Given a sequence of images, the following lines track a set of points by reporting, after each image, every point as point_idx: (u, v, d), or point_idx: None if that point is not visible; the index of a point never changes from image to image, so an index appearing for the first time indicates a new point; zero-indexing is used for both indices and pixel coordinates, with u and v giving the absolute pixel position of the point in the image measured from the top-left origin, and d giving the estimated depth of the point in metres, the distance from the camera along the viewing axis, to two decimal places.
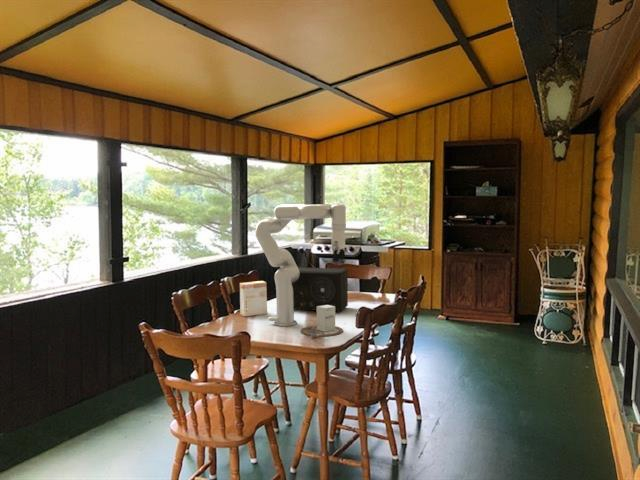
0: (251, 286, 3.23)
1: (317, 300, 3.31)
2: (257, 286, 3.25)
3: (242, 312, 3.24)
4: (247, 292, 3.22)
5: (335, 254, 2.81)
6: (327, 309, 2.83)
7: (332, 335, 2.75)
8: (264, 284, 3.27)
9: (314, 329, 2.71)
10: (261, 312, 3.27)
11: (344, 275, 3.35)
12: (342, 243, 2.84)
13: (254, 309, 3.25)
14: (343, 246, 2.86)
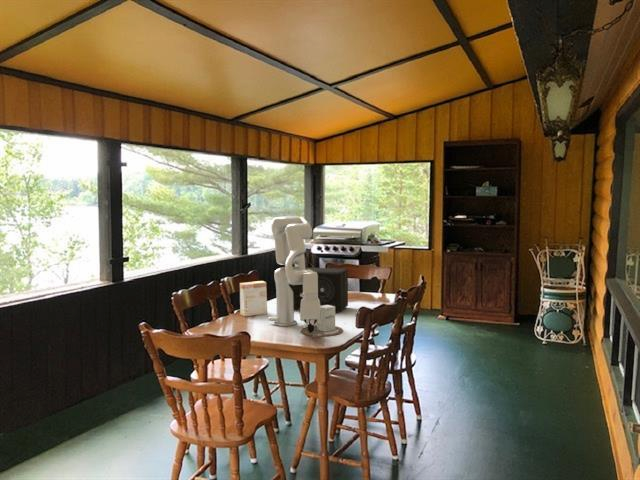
0: (251, 286, 3.23)
1: None
2: (257, 286, 3.25)
3: (242, 312, 3.24)
4: (247, 292, 3.22)
5: (313, 325, 2.72)
6: (327, 309, 2.83)
7: None
8: (264, 284, 3.27)
9: (316, 329, 2.71)
10: (261, 312, 3.27)
11: (344, 275, 3.35)
12: None
13: (254, 309, 3.25)
14: None
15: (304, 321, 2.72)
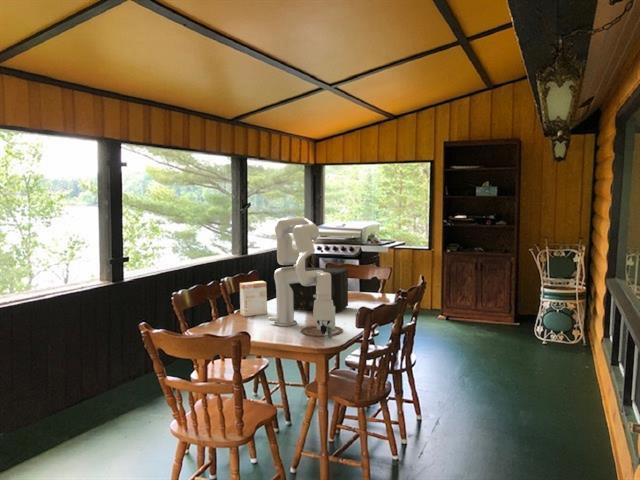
0: (251, 286, 3.23)
1: None
2: (257, 286, 3.25)
3: (242, 312, 3.24)
4: (247, 292, 3.22)
5: (326, 326, 2.71)
6: None
7: (341, 332, 2.80)
8: (264, 284, 3.27)
9: None
10: (261, 312, 3.27)
11: (344, 275, 3.35)
12: None
13: (254, 309, 3.25)
14: None
15: (317, 322, 2.71)
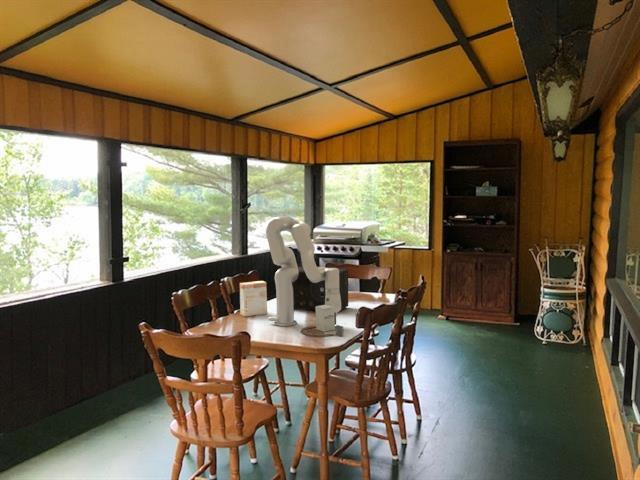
0: (251, 286, 3.23)
1: (317, 300, 3.33)
2: (257, 286, 3.25)
3: (242, 312, 3.24)
4: (247, 292, 3.22)
5: None
6: (326, 309, 2.82)
7: None
8: (264, 284, 3.27)
9: None
10: (261, 312, 3.27)
11: (344, 275, 3.35)
12: None
13: (254, 309, 3.25)
14: None
15: None
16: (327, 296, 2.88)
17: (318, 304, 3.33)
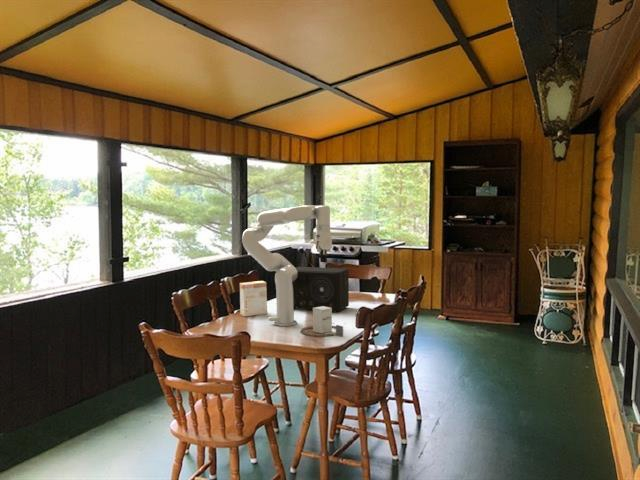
0: (251, 286, 3.23)
1: (316, 299, 3.33)
2: (257, 286, 3.25)
3: (242, 312, 3.24)
4: (247, 292, 3.22)
5: None
6: (324, 310, 2.79)
7: None
8: (264, 284, 3.27)
9: None
10: (261, 312, 3.27)
11: (344, 275, 3.35)
12: None
13: (254, 309, 3.25)
14: None
15: (321, 252, 2.90)
16: (318, 233, 2.89)
17: (318, 304, 3.33)
